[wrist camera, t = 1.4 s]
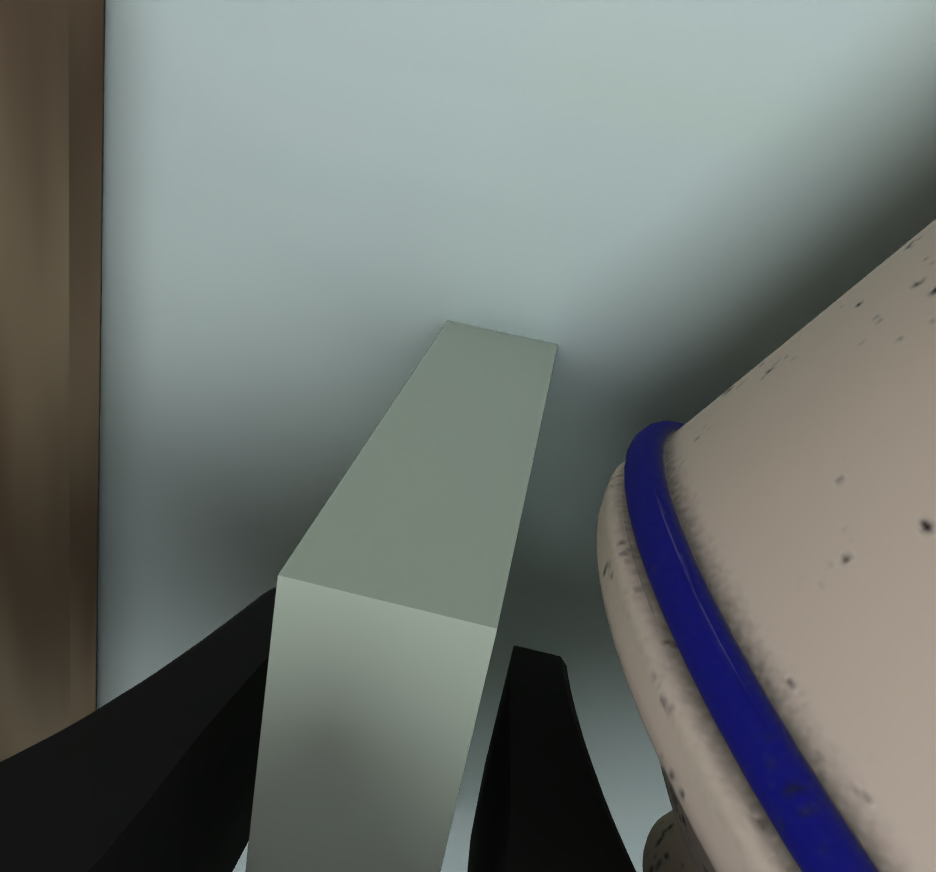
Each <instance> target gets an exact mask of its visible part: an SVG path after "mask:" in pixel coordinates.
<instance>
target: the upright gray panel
mask: <svg viewBox="0 0 936 872" xmlns="http://www.w3.org/2000/svg"><path fill="white" fill-rule="evenodd" d="M557 346H558V345H557V344H552V343H548V342H543V341H539V340H534V339H530V338H525V337H520V336H516V335H511V334H507V333H502V332H498V331H493V330H489V329H484V328H480V327H475V326H471V325H466V324H461V323H457V322H452V321H447V322H446V324H445V325H444V327H443V328H442V330H441V331H440V333H439V334H438V336H437V337H436V339H435V340H434V342H433V343H432V345H431V346H430V348H429V349H428V351H427V352H426V354H425V355H424V357H423V358H422V360H421V361H420V363H419V364H418V366H417V367H416V369H415V370H414V372H413V373H412V375H411V376H410V378H409V379H408V381H407V382H406V384H405V385H404V387H403V388H402V390H401V391H400V393H399V394H398V396H397V397H396V399H395V400H394V402H393V403H392V405H391V406H390V408H389V409H388V411H387V412H386V414H385V415H384V417H383V418H382V420H381V421H380V423H379V424H378V426H377V427H376V429H375V430H374V432H373V433H372V435H371V436H370V438H369V439H368V441H367V442H366V444H365V445H364V447H363V448H362V450H361V451H360V453H359V454H358V456H357V457H356V459H355V460H354V462H353V463H352V465H351V466H350V468H349V469H348V471H347V472H346V474H345V475H344V477H343V478H342V480H341V481H340V483H339V484H338V486H337V487H336V489H335V490H334V492H333V493H332V495H331V496H330V498H329V499H328V501H327V502H326V504H325V505H324V507H323V508H322V510H321V511H320V513H319V514H318V516H317V517H316V519H315V520H314V522H313V523H312V525H311V526H310V528H309V529H308V531H307V532H306V534H305V535H304V537H303V538H302V540H301V541H300V543H299V544H298V546H297V547H296V549H295V550H294V552H293V553H292V555H291V556H290V558H289V559H288V561H287V562H286V564H285V565H284V567H283V568H282V570H281V571H280V573H279V574H278V578H277V588H276V597H275V606H274V615H273V624H272V633H271V643H270V652H269V661H268V670H267V679H266V688H265V697H264V707H263V716H262V725H261V734H260V743H259V752H258V762H257V771H256V780H255V789H254V798H253V807H252V817H251V826H250V835H249V844H248V853H247V862H246V871H245V872H440V870H441V866H442V862H443V858H444V853H445V849H446V845H447V841H448V836H449V832H450V828H451V824H452V819H453V815H454V811H455V807H456V802H457V798H458V794H459V790H460V785H461V781H462V777H463V773H464V768H465V764H466V760H467V755H468V751H469V747H470V743H471V738H472V734H473V730H474V726H475V721H476V717H477V713H478V709H479V704H480V700H481V696H482V692H483V687H484V683H485V679H486V675H487V670H488V666H489V662H490V657H491V653H492V649H493V645H494V640H495V636H496V632H497V628H498V623H499V618H500V613H501V609H502V604H503V599H504V595H505V590H506V585H507V581H508V576H509V571H510V567H511V562H512V557H513V553H514V548H515V543H516V539H517V534H518V529H519V524H520V520H521V515H522V510H523V506H524V501H525V496H526V492H527V487H528V482H529V478H530V473H531V468H532V464H533V459H534V454H535V449H536V445H537V440H538V435H539V431H540V426H541V421H542V417H543V412H544V407H545V403H546V398H547V393H548V389H549V384H550V379H551V375H552V370H553V365H554V360H555V356H556V351H557Z"/></svg>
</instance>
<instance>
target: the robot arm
mask: <svg viewBox="0 0 936 872" xmlns="http://www.w3.org/2000/svg"><path fill="white" fill-rule="evenodd" d="M275 597H276V588H273V589H271V590H269V591H267V592H266V593H264V594H263V595H262V596H260V597H259V598H258V599H256V600H255V601H254V602H252V603H251V604H250V605H248V606H247V607H246V608H245V609H243V610H242V611H241V612H239V613H238V614H237V615H235V616H234V617H233V618H231V619H230V620H229V621H227V622H226V623H225V624H224V625H222V626H221V627H219V628H218V629H217V630H215V631H214V632H213V633H211V634H210V635H209V636H207V637H206V638H205V639H203V640H202V641H200V642H199V643H198V644H196V645H195V646H193V647H192V648H191V649H189V650H188V651H186V652H185V653H183V654H182V655H180V656H179V657H178V658H176V659H175V660H173V661H172V662H170V663H169V664H168V665H166V666H165V667H163V668H162V669H160V670H159V671H158V672H156V673H155V674H153V675H152V676H150V677H149V678H147V679H145V680H144V681H142V682H141V683H139V684H137V685H136V686H134V687H133V688H131V689H129V690H128V691H126V692H125V693H123V694H121V695H120V696H118V697H117V698H115V699H113V700H112V701H110V702H109V703H107V704H105V705H104V706H102V707H101V708H99V709H97V710H96V711H94V712H92V713H91V714H89V715H87V716H86V717H84V718H82V719H80V720H79V721H77V722H75V723H73V724H72V725H70V726H68V727H66V728H65V729H63V730H61V731H59V732H57V733H55V734H54V735H52V736H50V737H48V738H46V739H44V740H42V741H40V742H38V743H36V744H35V745H33V746H31V747H29V748H27V749H25V750H23V751H21V752H19V753H17V754H15V755H13V756H11V757H9V758H7V759H5V760H3V761H1V762H0V872H232V871H233V869H234V868H235V866H236V864H237V862H238V860H239V858H240V856H241V854H242V852H243V851H244V849H245V847H246V845H247V843H248V841H249V835H250V826H251V817H252V807H253V798H254V789H255V780H256V771H257V762H258V752H259V743H260V734H261V725H262V716H263V707H264V697H265V688H266V679H267V670H268V661H269V652H270V643H271V633H272V624H273V615H274V606H275ZM467 872H636V870H635V868H634V866H633V864H632V862H631V860H630V857H629V855H628V853H627V851H626V848H625V846H624V844H623V841H622V839H621V837H620V835H619V832H618V830H617V828H616V825H615V823H614V821H613V818H612V816H611V813H610V811H609V808H608V806H607V803H606V801H605V798H604V795H603V793H602V790H601V787H600V784H599V782H598V779H597V776H596V773H595V770H594V768H593V765H592V762H591V759H590V756H589V753H588V750H587V747H586V744H585V741H584V738H583V735H582V731H581V728H580V724H579V721H578V717H577V714H576V710H575V706H574V702H573V698H572V694H571V689H570V684H569V679H568V673H567V666H566V664H565V663H564V661H563V660H562V658H561V657H560V656H556V655H552V654H548V653H544V652H540V651H536V650H531V649H527V648H523V647H519V646H515V645H514V647H513V651H512V655H511V659H510V663H509V667H508V671H507V676H506V680H505V684H504V688H503V692H502V696H501V700H500V704H499V708H498V713H497V717H496V721H495V725H494V729H493V733H492V737H491V741H490V745H489V750H488V754H487V758H486V762H485V767H484V772H483V777H482V782H481V787H480V792H479V797H478V802H477V807H476V813H475V818H474V823H473V828H472V833H471V840H470V850H469V861H468V871H467Z"/></svg>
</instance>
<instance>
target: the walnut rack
mask: <svg viewBox="0 0 936 872" xmlns="http://www.w3.org/2000/svg"><path fill="white" fill-rule="evenodd" d="M103 50H104V0H0V762H1V761H3V760H5V759H7V758H9V757H11V756H13V755H15V754H17V753H19V752H21V751H23V750H25V749H27V748H29V747H31V746H33V745H35V744H36V743H38V742H40V741H42V740H44V739H46V738H48V737H50V736H52V735H54V734H55V733H57V732H59V731H61V730H63V729H65V728H66V727H68V726H70V725H72V724H73V723H75V722H77V721H79V720H80V719H82V718H84V717H86V716H87V715H89V714H91V713H92V712H94V711H96V631H97V548H98V465H99V382H100V299H101V216H102V133H103Z"/></svg>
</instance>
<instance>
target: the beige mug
mask: <svg viewBox="0 0 936 872" xmlns="http://www.w3.org/2000/svg"><path fill="white" fill-rule="evenodd" d="M596 552H597V564H598V574H599V580H600V586H601V591H602V597H603V602H604V607H605V611H606V615H607V619H608V623H609V626H610V630H611V634H612V638H613V641H614V644H615V647H616V650H617V653H618V656H619V659H620V662H621V665H622V668H623V671H624V674H625V677H626V680H627V683H628V686H629V688H630V691H631V693H632V696H633V698H634V701H635V703H636V706H637V709H638V711H639V714H640V716H641V719H642V721H643V724H644V726H645V728H646V731H647V733H648V735H649V737H650V740H651V742H652V744H653V746H654V749H655V751H656V753H657V755H658V758H659V760H660V764H661V768H662V773H663V776H664V780H665V784H666V788H667V792H668V795H669V799H670V802H671V806H672V809H673V810H672V811H670V812H669V813H667V814H665V815H664V816H662V817H661V818H660V819H659V820H658V821H657V822H656V823H655V824H654V826H653V827H652V829H651V830H650V832H649V835H648V837H647V841H646V844H645V848H644V852H643V872H936V219H935V220H934V221H933V222H931V223H930V224H929V225H928V226H926V227H925V228H924V229H923V230H922V231H920V232H919V233H918V234H917V235H916V236H914V237H913V238H912V239H911V240H909V241H908V242H907V243H906V244H905V245H903V246H902V247H901V248H900V249H898V250H897V251H896V252H895V253H894V254H892V255H891V256H890V257H889V258H887V259H886V260H885V261H884V262H883V263H881V264H880V265H879V266H878V267H876V268H875V269H874V270H873V271H872V272H870V273H869V274H868V275H867V276H865V277H864V278H863V279H862V280H861V281H859V282H858V283H857V284H856V285H854V286H853V287H852V288H851V289H850V290H848V291H847V292H846V293H845V294H844V295H842V296H841V297H840V298H839V299H837V300H836V301H835V302H834V303H833V304H831V305H830V306H829V307H828V308H826V309H825V310H824V311H823V312H822V313H820V314H819V315H818V316H817V317H815V318H814V319H813V320H812V321H811V322H809V323H808V324H807V325H806V326H804V327H803V328H802V329H801V330H800V331H798V332H797V333H796V334H795V335H793V336H792V337H791V338H790V339H789V340H787V341H786V342H785V343H784V344H782V345H781V346H780V347H779V348H778V349H776V350H775V351H774V352H773V353H772V354H770V355H769V356H768V357H767V358H765V359H764V360H763V361H762V362H761V363H759V364H758V365H757V366H756V367H754V368H753V369H752V370H751V371H750V372H748V373H747V374H746V375H745V376H743V377H742V378H741V379H740V380H739V381H737V382H736V383H735V384H734V385H732V386H731V387H730V388H729V389H728V390H726V391H725V392H724V393H723V394H721V395H720V396H719V397H718V398H717V399H715V400H714V401H713V402H712V403H710V404H709V405H708V406H707V407H706V408H704V409H703V410H702V411H701V412H700V413H698V414H697V415H696V416H695V417H693V418H692V419H691V420H690V421H689V422H687V423H686V424H683V423H679V422H672V421H662V422H656V423H653V424H650V425H649V426H647V427H646V428H645V429H643V430H642V431H640V432H639V433H638V434H637V435H636V436H635V437H634V439H633V441H632V443H631V445H630V446H629V448H628V451H627V456H626V460H625V461H624V462H623V463H621V464H620V465H619V466H618V467H617V468H616V470H615V471H614V473H613V475H612V476H611V478H610V480H609V482H608V486H607V488H606V490H605V493H604V496H603V500H602V503H601V507H600V511H599V515H598V522H597V538H596Z"/></svg>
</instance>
